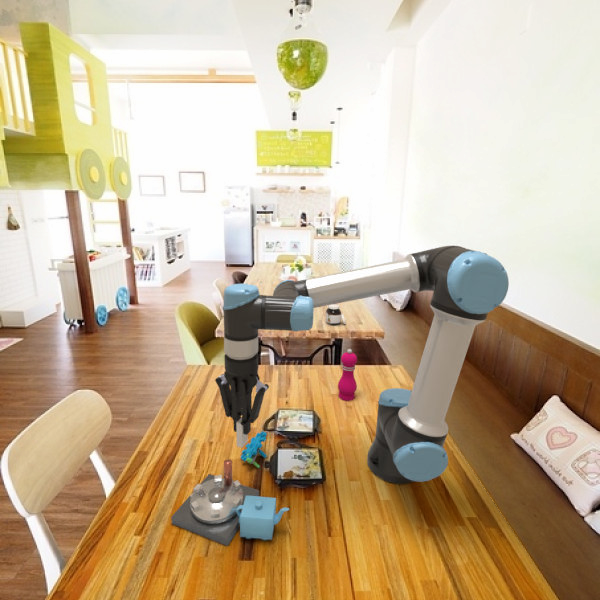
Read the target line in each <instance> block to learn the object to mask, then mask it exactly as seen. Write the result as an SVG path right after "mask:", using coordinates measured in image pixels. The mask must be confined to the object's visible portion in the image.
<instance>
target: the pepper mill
mask: <svg viewBox="0 0 600 600" xmlns="http://www.w3.org/2000/svg"><path fill="white" fill-rule="evenodd" d="M340 361H341V363H342V364H341V369H342V374H341V377H340V379H339V380H338V382H337V389H338V398H339V399H340V400H342V401H344V402H350V401H351V402H352V401H353V400H355V398H356V397H355V396H356V393H355V392H356V391H357V387H358V386H357V385H358V384H357V382H356V379H355V378H356V377H355V374H354V372H355V370H356V364H357V362H358V357H357V355H356V354H355V353H354V352H353V351H352V349H351V348H348V349H347V351H346V352H344V353H343V354H342V355H341V358H340Z"/></svg>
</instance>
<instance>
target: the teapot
mask: <svg viewBox="0 0 600 600" xmlns="http://www.w3.org/2000/svg"><path fill="white" fill-rule="evenodd" d="M276 507H277V498H276V497H269V496H260V495H259V496H248V495H246V497H245V501H244V504H243V505H240V506H238V508H237V510H236V512H237V515H238V516H239V517H240V518H239V523H240V528H239V537H240V538H245V539H247V540H250V539H259V540H262V541H267V540H271V541H272V540H273V536H274V528H275V526H276V525H277V524H279V522H280V521H281V520H282V516H283V514H284V513H285V512H288V511H289V510H290V508H289V507H282V508H280V510H279V511H278V513H277V510H276V509H277V508H276ZM240 509H242V512H241V513H240V511H239V510H240Z"/></svg>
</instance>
